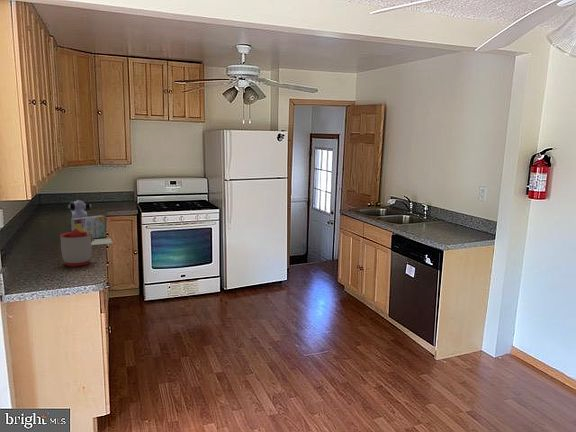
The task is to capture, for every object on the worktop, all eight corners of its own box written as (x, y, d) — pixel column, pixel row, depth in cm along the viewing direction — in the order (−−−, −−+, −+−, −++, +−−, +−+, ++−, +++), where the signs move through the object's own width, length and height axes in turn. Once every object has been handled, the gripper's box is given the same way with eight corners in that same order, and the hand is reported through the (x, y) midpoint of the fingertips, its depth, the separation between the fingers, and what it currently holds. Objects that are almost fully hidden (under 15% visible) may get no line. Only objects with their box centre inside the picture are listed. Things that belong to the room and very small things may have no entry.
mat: (68, 241, 299) (68, 241, 299) (110, 238, 311) (110, 238, 311) (69, 247, 285) (69, 246, 285) (113, 243, 297) (113, 243, 297)
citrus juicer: (101, 263, 249) (99, 228, 246) (68, 269, 237) (66, 232, 233) (88, 258, 260) (86, 224, 256) (56, 264, 247) (54, 228, 244)
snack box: (101, 236, 318) (100, 215, 316) (105, 237, 315) (105, 215, 313) (71, 240, 302) (70, 218, 300) (75, 241, 299) (74, 219, 296)
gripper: (67, 200, 316) (68, 201, 304) (90, 199, 323) (91, 200, 311) (68, 210, 317) (69, 211, 305) (90, 209, 324) (92, 210, 312)
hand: (80, 206), depth 308 cm, fingers open, 7 cm apart
